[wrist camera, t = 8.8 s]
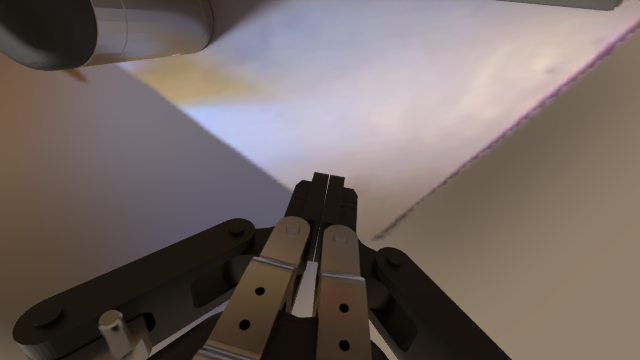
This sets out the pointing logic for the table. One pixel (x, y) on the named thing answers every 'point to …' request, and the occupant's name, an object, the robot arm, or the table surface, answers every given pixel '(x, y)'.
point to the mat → (574, 3)
